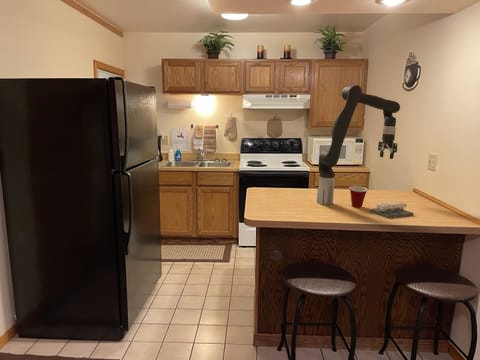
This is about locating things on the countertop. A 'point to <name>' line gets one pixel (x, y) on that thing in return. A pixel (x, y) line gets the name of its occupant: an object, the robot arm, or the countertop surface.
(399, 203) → the key
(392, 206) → the key
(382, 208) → the key
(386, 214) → the keypad board
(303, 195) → the countertop surface
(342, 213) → the countertop surface
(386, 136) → the robot arm
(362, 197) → the plastic cup
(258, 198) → the countertop surface
